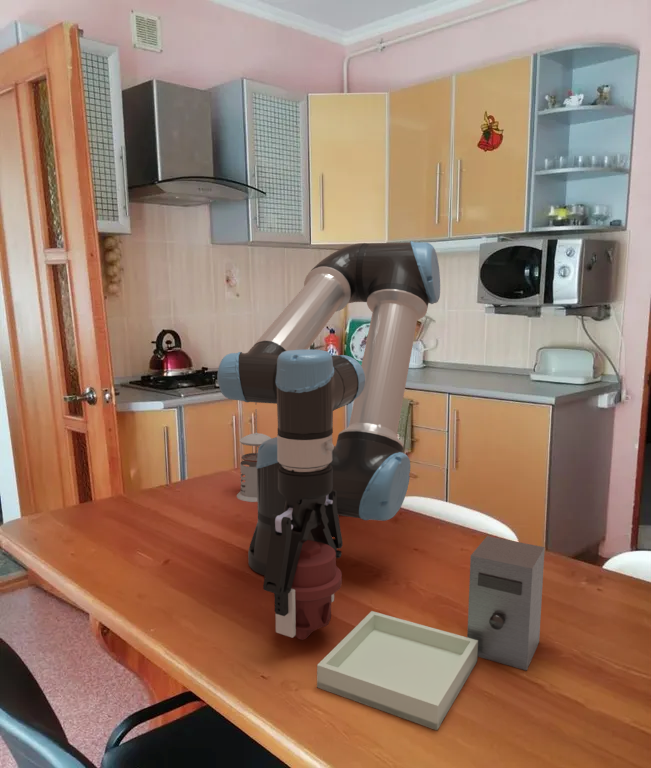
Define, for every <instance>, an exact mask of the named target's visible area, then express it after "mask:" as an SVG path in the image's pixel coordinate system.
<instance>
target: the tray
mask: <svg viewBox="0 0 651 768" xmlns="http://www.w3.org/2000/svg"><path fill="white" fill-rule="evenodd" d="M477 653H478V640H474V639H471V638H467V637H466V636H463V635H459V634H457V633H453V632H449V631H445V630H442V629H438V628H435V627H430V626H427V625H424V624H420V623H417V622H412V621H409V620H405V619H402V618H398V617H394V616H391V615H388V614H384V613H380V612H378V611H377V612H376V611H373V610H371V611H370V612H369V613H368V614H366V616H365V617H364V618H363V619H362V620H361V621H360V622H359V623H358V624H357V625H356V626H354V628H353V629H352V630H351V631H349V633H348V634H347V635H346V636H345V637H344V638H343V639H341V640H340V642H338V643H337V645H336V646H334V648H332V650H331V651H330V652H329V653H328V654H327V655H326V656H324V658H322V660H320V662H318V663H317V665H316V667H317V668H316V670H317V671H316V688H318V689H321V690H323V691H326V692H328V693H332V694H335V695H336V696H337V695H338V696H340V697H343V698H345V699H349V700H351V701H354V702H357V703H359V704H362V705H365V706H368V707H371V708H373V709H376V710H379V711H382V712H384V713H387V714H390V715H393V716H395V717H398V718H401V719H404V720H407V721H410V722H412V723H414V724H418V725H421V726H423V727H426V728H429V729H432V730H434V731H438V729H439V728H440V727H441V724H442V723H443V721H444V719H445V718H446V716H447V715H448V712H449V711H450V709H451V707H452V706H453V704H454V702H455V701H456V699H457V697H458V696H459V693H460V692H461V690H462V689H463V687H464V685H465V683H466V682H467V680H468V678H469V677H470V675H471V673H472V672H473V670H474V668H475V667H476V664H477V663H478V656H477Z"/></svg>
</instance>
